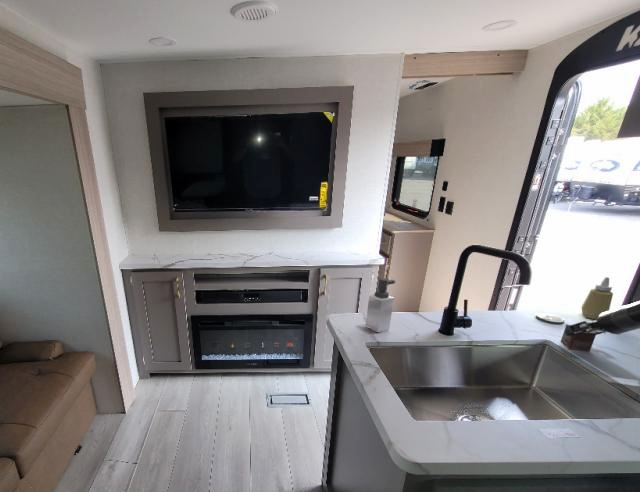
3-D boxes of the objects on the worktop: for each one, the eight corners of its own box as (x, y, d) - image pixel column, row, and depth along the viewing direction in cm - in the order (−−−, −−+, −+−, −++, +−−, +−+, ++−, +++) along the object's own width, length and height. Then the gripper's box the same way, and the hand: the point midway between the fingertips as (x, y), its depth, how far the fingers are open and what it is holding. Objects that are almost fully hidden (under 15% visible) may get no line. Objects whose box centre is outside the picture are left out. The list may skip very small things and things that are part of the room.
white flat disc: (558, 316, 141) (559, 314, 140) (567, 326, 133) (568, 323, 133) (532, 313, 144) (533, 311, 144) (539, 322, 137) (540, 319, 136)
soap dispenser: (393, 328, 135) (400, 279, 128) (377, 333, 132) (383, 283, 124) (381, 322, 141) (387, 274, 133) (365, 326, 138) (371, 278, 130)
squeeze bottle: (610, 322, 135) (627, 281, 128) (585, 320, 137) (601, 280, 131) (597, 314, 142) (613, 275, 135) (574, 312, 144) (588, 273, 138)
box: (590, 352, 115) (597, 333, 113) (568, 349, 117) (575, 331, 115) (580, 343, 121) (587, 325, 118) (559, 341, 123) (566, 323, 120)
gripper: (606, 330, 102) (561, 343, 116) (654, 330, 101) (603, 343, 116) (595, 308, 105) (553, 323, 119) (642, 307, 104) (594, 322, 119)
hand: (578, 333), depth 118 cm, fingers open, 8 cm apart
